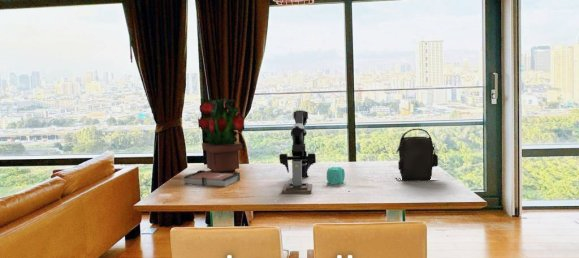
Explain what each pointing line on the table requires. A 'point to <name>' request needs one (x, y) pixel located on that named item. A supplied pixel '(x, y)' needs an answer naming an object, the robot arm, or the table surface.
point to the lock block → (297, 173)
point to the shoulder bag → (416, 157)
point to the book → (212, 178)
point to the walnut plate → (297, 189)
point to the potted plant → (221, 134)
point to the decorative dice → (335, 175)
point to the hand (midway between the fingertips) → (297, 172)
